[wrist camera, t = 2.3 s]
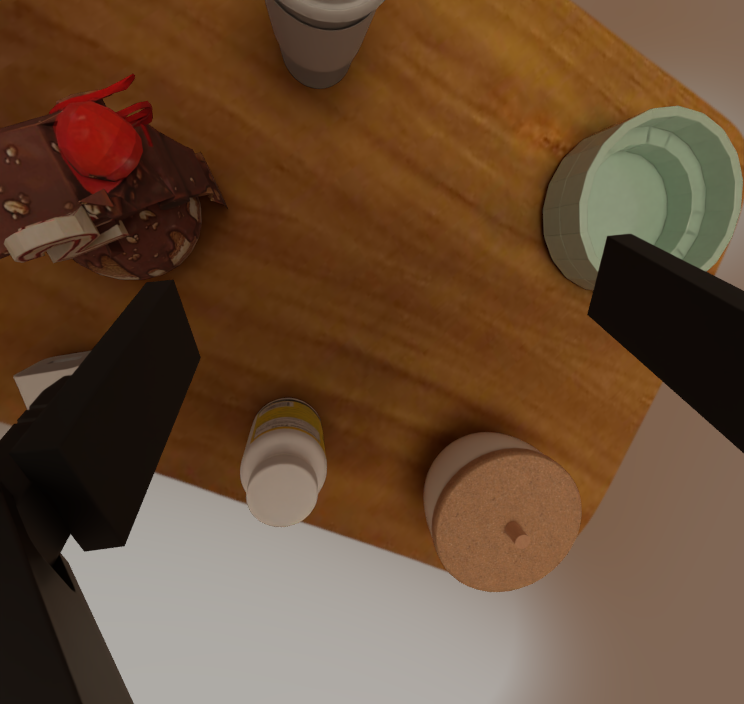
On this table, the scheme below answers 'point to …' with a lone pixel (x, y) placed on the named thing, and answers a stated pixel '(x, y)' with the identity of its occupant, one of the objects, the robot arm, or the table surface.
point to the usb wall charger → (46, 374)
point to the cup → (320, 36)
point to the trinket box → (499, 511)
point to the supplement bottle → (284, 462)
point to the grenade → (100, 189)
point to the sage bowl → (645, 191)
